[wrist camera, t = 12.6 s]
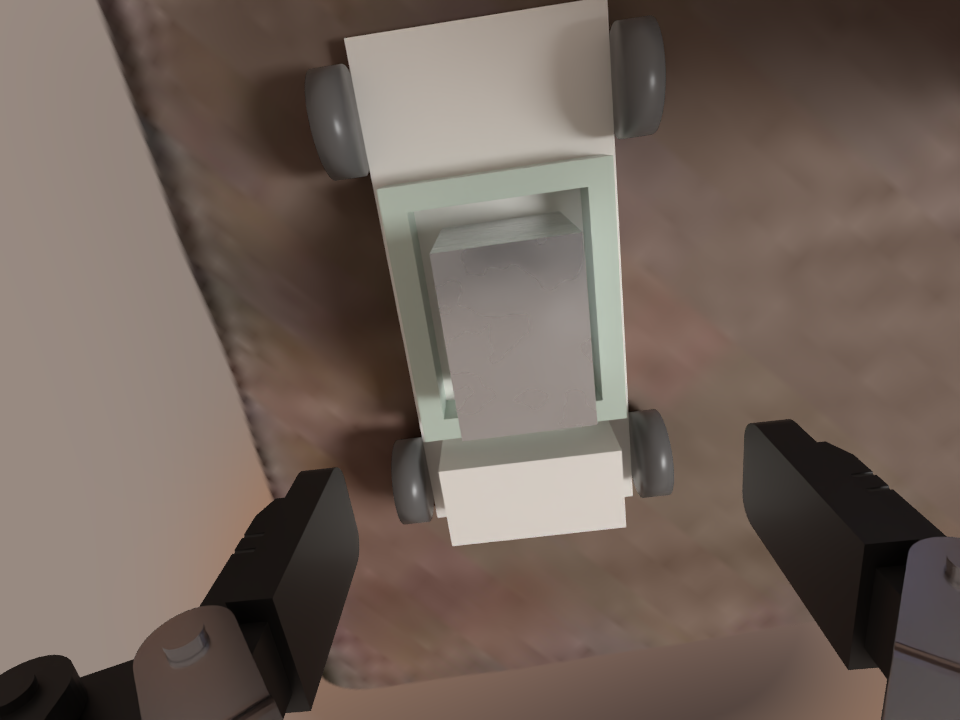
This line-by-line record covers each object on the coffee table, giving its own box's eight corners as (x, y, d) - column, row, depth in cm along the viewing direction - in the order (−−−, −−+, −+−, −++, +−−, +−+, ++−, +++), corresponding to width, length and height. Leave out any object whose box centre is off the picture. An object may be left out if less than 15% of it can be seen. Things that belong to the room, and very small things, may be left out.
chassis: (633, -3, 22) (663, -32, 18) (651, 482, 30) (675, 530, 26) (320, 47, 23) (288, 28, 19) (416, 508, 31) (407, 559, 27)
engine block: (559, 211, 24) (582, 231, 18) (573, 364, 26) (597, 424, 21) (442, 228, 24) (429, 254, 19) (466, 378, 27) (462, 441, 21)
